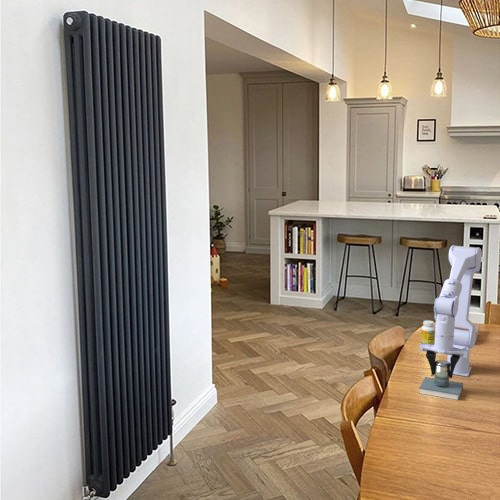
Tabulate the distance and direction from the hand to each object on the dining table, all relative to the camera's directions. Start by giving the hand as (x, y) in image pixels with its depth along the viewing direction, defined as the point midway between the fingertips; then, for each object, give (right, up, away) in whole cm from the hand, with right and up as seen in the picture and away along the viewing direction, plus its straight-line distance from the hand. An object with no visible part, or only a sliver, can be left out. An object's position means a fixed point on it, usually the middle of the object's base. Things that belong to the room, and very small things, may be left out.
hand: (442, 375), depth 199 cm
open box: (+24, +4, +59) cm, 63 cm away
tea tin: (0, -3, 0) cm, 3 cm away
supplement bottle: (+9, +2, +47) cm, 48 cm away
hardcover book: (0, -6, +1) cm, 6 cm away
